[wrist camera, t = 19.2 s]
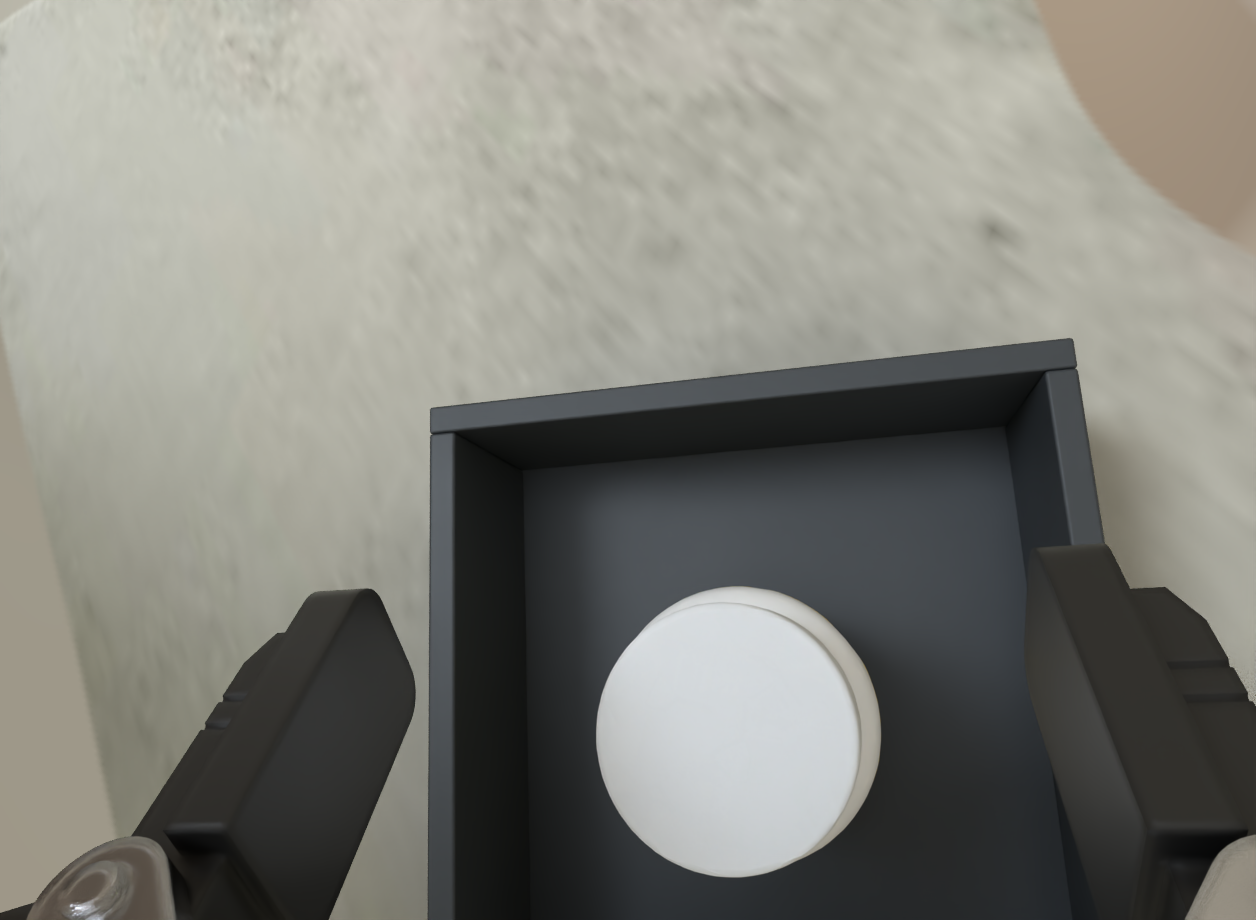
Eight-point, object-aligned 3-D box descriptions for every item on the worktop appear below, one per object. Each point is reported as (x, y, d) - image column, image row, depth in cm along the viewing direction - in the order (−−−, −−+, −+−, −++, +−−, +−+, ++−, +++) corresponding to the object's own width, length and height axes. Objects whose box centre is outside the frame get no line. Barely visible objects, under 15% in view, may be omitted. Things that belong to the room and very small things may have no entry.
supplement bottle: (631, 672, 22) (513, 683, 14) (790, 563, 22) (759, 511, 14) (744, 852, 21) (681, 973, 13) (915, 738, 21) (959, 790, 13)
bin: (1108, 1007, 19) (1196, 1124, 14) (517, 986, 22) (425, 1079, 17) (1023, 406, 22) (1073, 336, 17) (510, 455, 25) (428, 407, 20)
